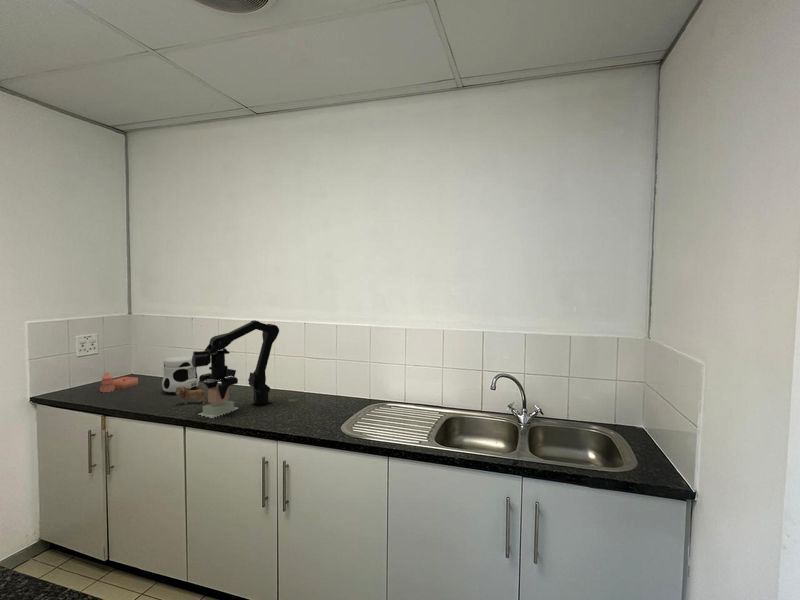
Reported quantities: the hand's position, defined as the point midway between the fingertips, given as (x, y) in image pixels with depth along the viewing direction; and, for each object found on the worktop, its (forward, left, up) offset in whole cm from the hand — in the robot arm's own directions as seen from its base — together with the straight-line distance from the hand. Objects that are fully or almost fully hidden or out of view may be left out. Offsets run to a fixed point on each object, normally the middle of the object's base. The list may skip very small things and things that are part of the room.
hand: (218, 398), depth 179 cm
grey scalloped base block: (0, 0, -7) cm, 7 cm away
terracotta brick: (0, 0, -1) cm, 1 cm away
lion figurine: (+22, -3, -7) cm, 24 cm away
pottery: (+83, -2, -7) cm, 83 cm away
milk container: (+47, -15, -7) cm, 50 cm away
